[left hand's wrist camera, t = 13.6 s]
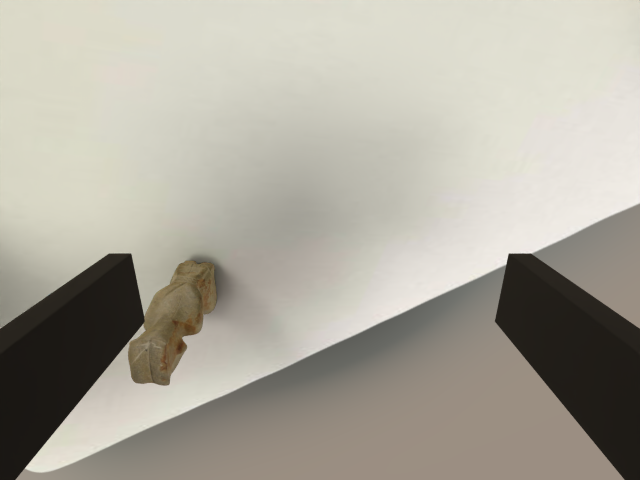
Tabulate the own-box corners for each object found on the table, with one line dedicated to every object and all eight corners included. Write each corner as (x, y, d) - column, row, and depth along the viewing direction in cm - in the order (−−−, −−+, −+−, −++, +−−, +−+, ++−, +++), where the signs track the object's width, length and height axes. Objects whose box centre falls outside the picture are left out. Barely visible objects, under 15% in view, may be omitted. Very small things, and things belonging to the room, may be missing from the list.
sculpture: (176, 301, 46) (112, 387, 31) (179, 250, 43) (110, 319, 29) (222, 308, 46) (178, 397, 32) (226, 258, 43) (182, 330, 29)
